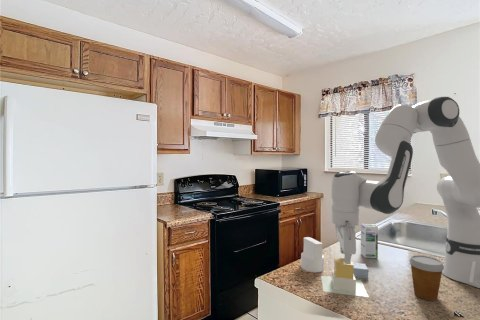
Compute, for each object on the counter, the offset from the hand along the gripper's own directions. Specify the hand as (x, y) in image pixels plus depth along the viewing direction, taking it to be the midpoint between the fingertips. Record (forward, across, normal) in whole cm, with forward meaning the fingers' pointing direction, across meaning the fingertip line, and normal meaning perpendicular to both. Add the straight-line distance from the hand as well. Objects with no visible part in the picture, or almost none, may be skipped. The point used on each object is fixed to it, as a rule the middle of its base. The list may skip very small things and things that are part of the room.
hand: (345, 257), depth 92 cm
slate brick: (+11, +11, -6) cm, 17 cm away
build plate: (+11, 0, +1) cm, 11 cm away
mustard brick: (+6, 0, +1) cm, 6 cm away
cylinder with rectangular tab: (+11, +13, +11) cm, 20 cm away
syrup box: (+11, +36, -16) cm, 41 cm away
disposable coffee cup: (+12, +2, -25) cm, 28 cm away
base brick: (+10, 0, +1) cm, 10 cm away
